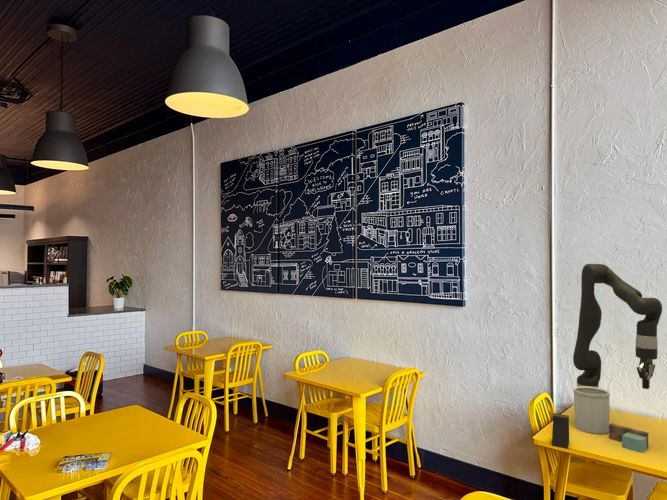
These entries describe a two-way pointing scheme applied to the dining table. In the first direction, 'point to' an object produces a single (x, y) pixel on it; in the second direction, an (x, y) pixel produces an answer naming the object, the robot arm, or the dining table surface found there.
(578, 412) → the utensil holder
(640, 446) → the teal block
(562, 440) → the phone stand
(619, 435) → the walnut board
